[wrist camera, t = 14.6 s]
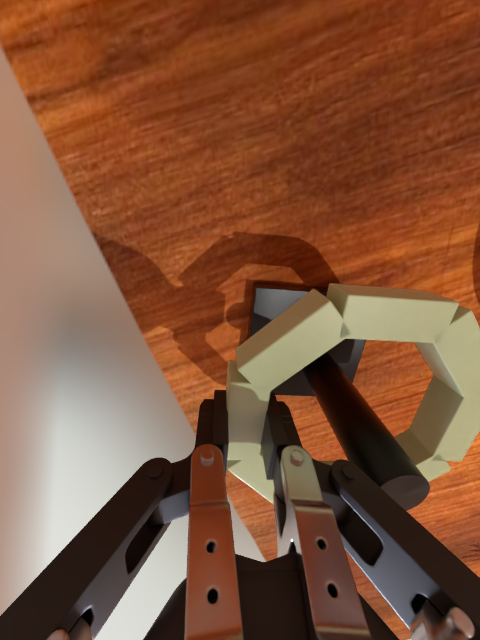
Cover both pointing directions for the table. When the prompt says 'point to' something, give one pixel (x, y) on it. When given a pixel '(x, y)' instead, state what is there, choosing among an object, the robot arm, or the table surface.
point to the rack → (343, 402)
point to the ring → (370, 324)
